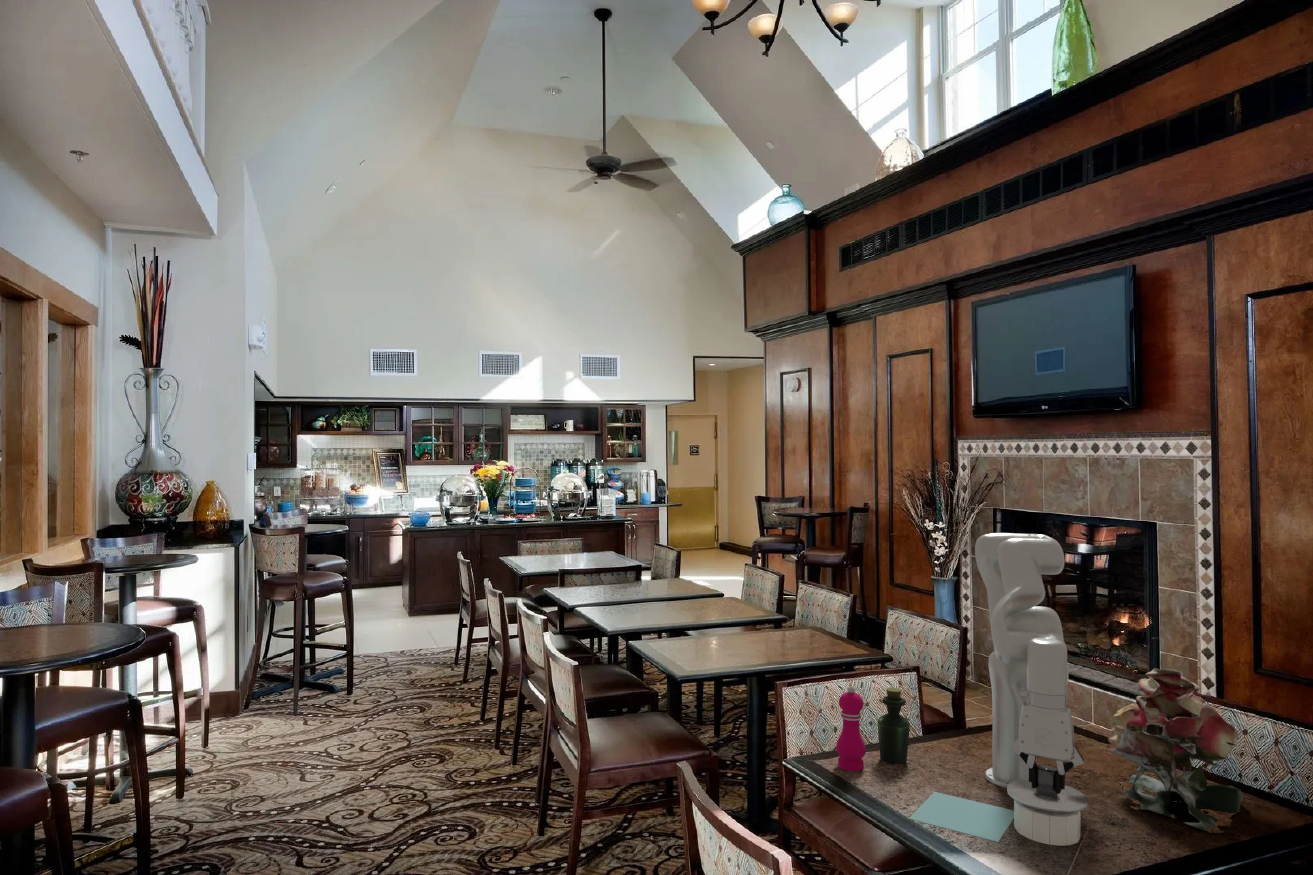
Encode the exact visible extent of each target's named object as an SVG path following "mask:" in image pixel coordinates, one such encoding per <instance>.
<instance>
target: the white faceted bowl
mask: <svg viewBox="0 0 1313 875" xmlns="http://www.w3.org/2000/svg"><path fill="white" fill-rule="evenodd" d="M1013 811H1014V819H1013V827H1014V829H1015V830H1016V832H1017V833H1018V834H1019V835H1021V836H1023V837H1024V838H1027V839H1028V840H1031V841H1034V842H1037V843H1040V844H1045V845H1050V846H1060V847H1061V846H1063V847H1065V846H1072V845H1074V844H1077V843H1079V841H1080V839H1081V811H1077V812H1052V811H1045V810H1041V809H1037V808H1033V807H1030V806H1027V805H1024V804H1022V803H1020V802H1018V801H1016V800H1014V799H1013Z"/></svg>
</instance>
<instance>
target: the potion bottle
mask: <svg viewBox="0 0 1313 875" xmlns="http://www.w3.org/2000/svg"><path fill="white" fill-rule="evenodd" d="M885 691H886V694H887V695H885V696H883V697H882V699H881V700H882V701H881V703H882V704H884V705H885V706H886V709H887V713H885V714H883V715H881V716H879V717H878V719H877V722H876V723H877V736H878V746H879V747H878V748H879V758H880V760H881V761H882V762H883V763H886V764H888V765H892V766H893V765H894V766H895V765H900V764H901V765H902V764H906V763H907V761H908V760H907V759H908V751H909V750H908V749H909V740H910V739H909V738H910V731H911V730H910V728H911V724H910V723H911V722H910V721H909V720H908V718H906V717H905V716H903V715H902V714H900V713H901V709H902V707H904V706H906V705H907V704H906V700H905V699H904V698H903V697H901V695H902V691H903V690H902V689H901V688H897V687H886V690H885Z"/></svg>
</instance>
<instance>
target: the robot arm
mask: <svg viewBox="0 0 1313 875" xmlns="http://www.w3.org/2000/svg"><path fill="white" fill-rule="evenodd" d="M1064 554H1065V553H1064V551H1063V548H1062V546H1061V545H1060V543H1059V542H1058V541H1057V540H1056V539H1054V538H1053V537H1050V536H1048V535H1046V534H1041V533H1040V534H1038V533H1014V532H1013V533H1012V532H1011V533H1010V532H992V533H986V534H982V535H981V536H979V537H978V538H977V539H976V541H975V544H974V555H975V556H974V557H975V561H976V566H977V569H978V571H979V574H980V577H981V579H982V582H983V584H984V586H985V588H986V592H987V593H986V594H987V602H988V603H987V604H988V613H989V614H988V615H989V621H990V632H991V637H992V643H993V644H992V645H993V649H994V650H993V651H992V652H991V653H990V655H989V656H988V662H987V663H988V664H987V666H988V671H989V678H990V679H989V680H990V685H991V695H992V696H991V698H992V699H991V701H992V702H991V703H992V708H991V709H992V714H991V715H992V718H991V719H992V720H991V721H992V726H991V728H992V732H991V733H992V734H991V735H992V742H991V746H992V748H991V749H992V750H991V753H992V754H991V755H992V756H991V762H992V764H991V765H992V766H991V767H990V768H988V769H987V770H986V771H985V779H986V780H987V781H988V782H990V783H991V784H993V785H996V786H999V787H1001V788H1005V789H1007V786H1008V784H1009V783H1011V782H1013V781H1016V780H1023V779H1029V782H1032V788H1034V789H1035V788H1036V766H1038V764H1037V758H1038V757H1040V758H1044V759H1049V760H1054V761H1055V762H1056V766H1057V768H1056V769H1057V773H1056V775H1055V792H1056V793H1057V794H1060V792H1061V790H1062V789H1065V785H1066V773H1068V772H1069V771H1070V770H1071V769H1073V768H1075V767H1077V766H1080V765H1083V764H1084V762H1085V758H1084V757H1083V756H1082V754H1081V752H1080V750H1079V749H1078V747H1077V746H1076V744H1075V742H1076V741H1075V732H1074V731H1075V729H1074V722H1073V714H1072V710H1071V708H1070V707H1068V683H1069V668H1068V648H1067V645H1066V643H1065V638H1064V632H1063V626H1062V622H1061V619H1060V616H1059V615H1058V613H1057V612H1056V611H1055V609H1052V608H1051V607H1047V606H1040V604H1041V603H1042V602H1043V601H1044V599H1045V596H1046V591H1045V585H1044V582H1043V578H1042V575H1053V576H1054V575H1059V574H1061V573H1062V571H1063V570H1064V569H1065V568H1064V567H1065V555H1064ZM1038 605H1039V606H1038ZM1072 758H1073V759H1072Z"/></svg>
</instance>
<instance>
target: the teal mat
mask: <svg viewBox="0 0 1313 875" xmlns="http://www.w3.org/2000/svg"><path fill="white" fill-rule="evenodd" d="M908 819H909V820H912V821H916V822H920V823H924V824H928V825H931V826H935V827H938V828H943V829H947V830H949V831H950V830H951V831H953V832H958V833H962V834H965V835H969V836H973V837H975V838H976V837H977V838H980V839H985V840H988V841H992V842H995V843H999V842H1000V840H1001V839H1002V837H1003V835H1004V834H1005V832H1006V831H1007V829H1008V828H1009V826H1010V825H1011V823H1012V822H1013V821H1014V809H1009V808H1004V807H1000V806H996V805H991V804H988V803H984V802H979V801H975V800H970V799H967V798H963V797H958V796H954V795H950V794H947V793H943V792H942V793H941V792H938V791H934V792H933V793H932V794H931V795H930V796H929V797H928V798H927V799H926V800H925V801H924V802H923V803H922V804H921V805H920V806H919V807H918V809H916V811H915V812H914V813H913V814H912V815H911V816H910V817H909V818H908Z"/></svg>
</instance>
